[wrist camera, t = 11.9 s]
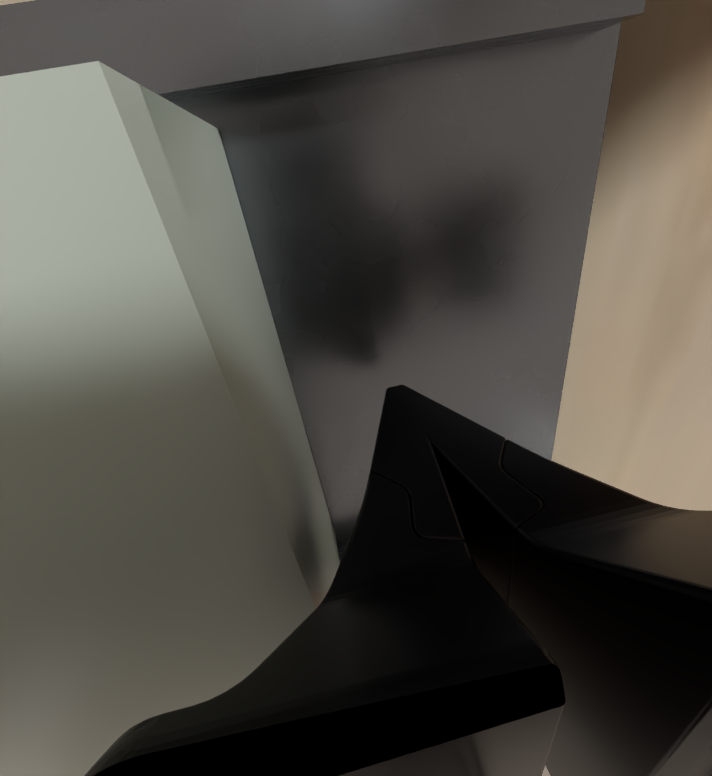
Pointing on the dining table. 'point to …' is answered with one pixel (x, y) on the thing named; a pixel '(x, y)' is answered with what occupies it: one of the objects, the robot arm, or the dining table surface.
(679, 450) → the dining table surface
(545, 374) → the housing base
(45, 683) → the housing cover
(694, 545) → the robot arm
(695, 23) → the dining table surface
